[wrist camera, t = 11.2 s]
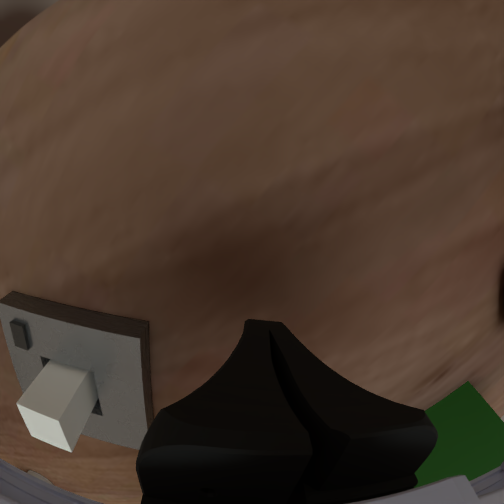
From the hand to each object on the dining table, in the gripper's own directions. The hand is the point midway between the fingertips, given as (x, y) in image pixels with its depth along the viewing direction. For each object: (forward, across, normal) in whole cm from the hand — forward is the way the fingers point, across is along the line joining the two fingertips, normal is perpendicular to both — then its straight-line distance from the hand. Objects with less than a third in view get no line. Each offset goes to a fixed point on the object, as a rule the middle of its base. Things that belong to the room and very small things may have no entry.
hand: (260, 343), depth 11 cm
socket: (+10, +14, +13) cm, 22 cm away
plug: (+10, +14, +13) cm, 22 cm away
